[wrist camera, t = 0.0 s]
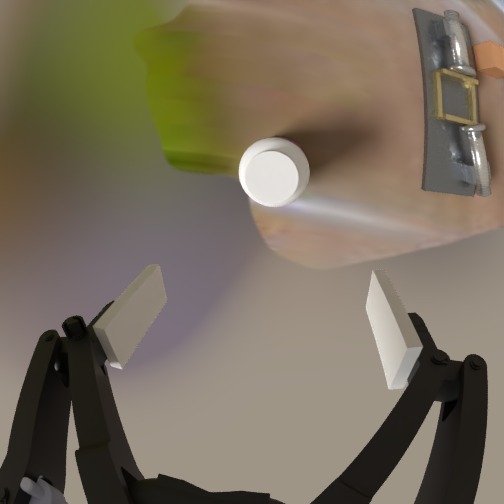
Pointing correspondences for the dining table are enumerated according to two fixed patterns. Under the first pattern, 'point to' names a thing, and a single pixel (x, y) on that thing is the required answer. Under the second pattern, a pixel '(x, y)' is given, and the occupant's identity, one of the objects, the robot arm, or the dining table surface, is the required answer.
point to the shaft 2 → (477, 160)
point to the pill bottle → (274, 171)
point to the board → (444, 110)
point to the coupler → (489, 59)
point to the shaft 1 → (455, 42)
